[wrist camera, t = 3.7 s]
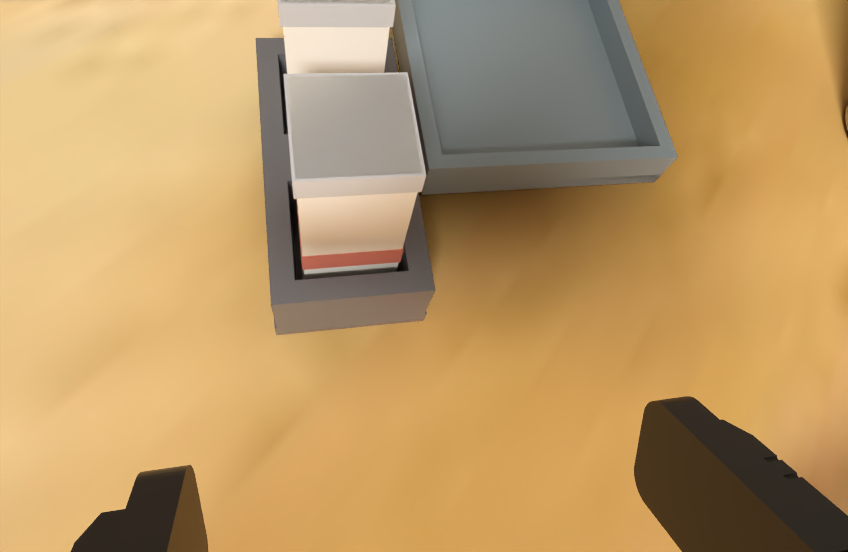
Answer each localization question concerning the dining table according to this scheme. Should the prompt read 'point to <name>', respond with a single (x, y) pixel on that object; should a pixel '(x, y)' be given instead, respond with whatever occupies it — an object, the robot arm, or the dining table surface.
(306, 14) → the block
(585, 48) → the tray
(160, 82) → the dining table surface
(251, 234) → the dining table surface
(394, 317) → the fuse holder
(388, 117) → the block
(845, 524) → the robot arm
